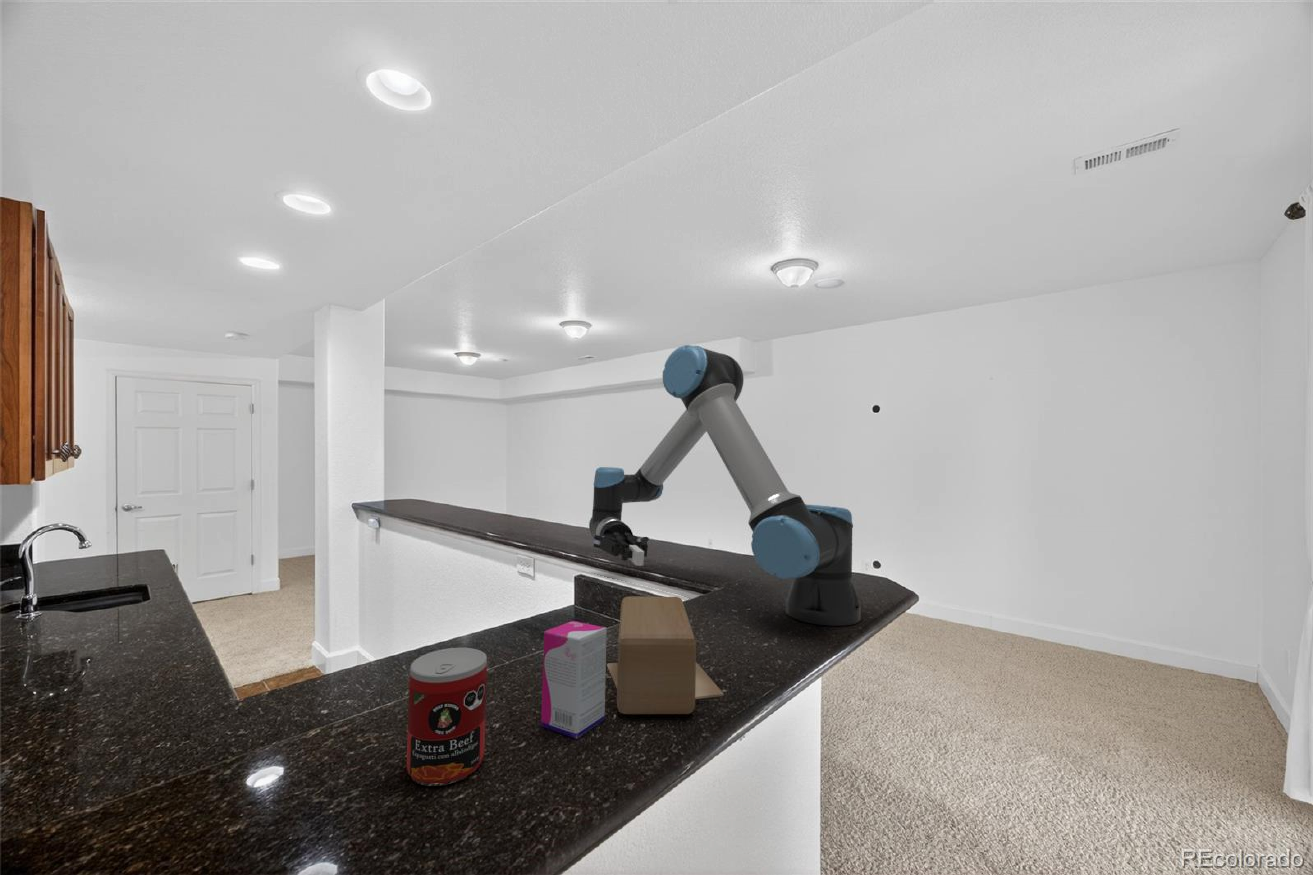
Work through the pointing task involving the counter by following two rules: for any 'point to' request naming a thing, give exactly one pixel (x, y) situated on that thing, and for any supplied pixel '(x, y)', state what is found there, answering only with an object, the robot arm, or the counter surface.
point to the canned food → (446, 714)
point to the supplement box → (573, 678)
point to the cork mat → (702, 685)
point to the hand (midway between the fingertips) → (640, 558)
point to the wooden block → (655, 657)
